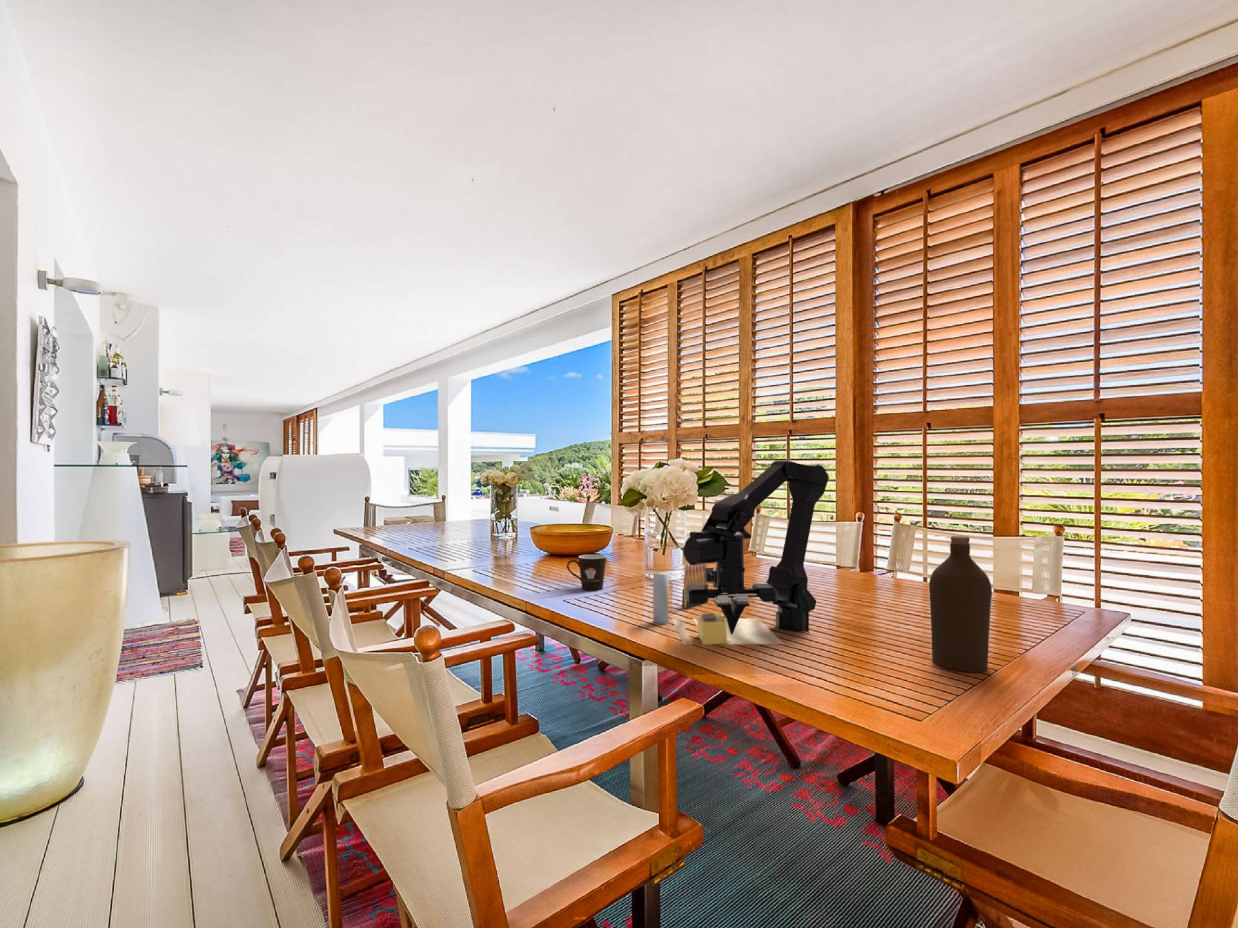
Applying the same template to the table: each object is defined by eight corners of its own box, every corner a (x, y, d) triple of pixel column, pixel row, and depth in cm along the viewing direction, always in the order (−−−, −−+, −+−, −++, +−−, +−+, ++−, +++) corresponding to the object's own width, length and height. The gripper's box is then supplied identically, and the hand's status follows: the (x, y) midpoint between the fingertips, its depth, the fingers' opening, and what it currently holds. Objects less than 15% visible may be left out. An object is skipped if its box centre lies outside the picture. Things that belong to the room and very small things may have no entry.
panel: (757, 624, 143) (757, 618, 143) (783, 650, 123) (783, 643, 123) (671, 624, 142) (671, 618, 142) (683, 651, 122) (683, 644, 122)
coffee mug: (611, 587, 184) (611, 556, 184) (595, 593, 177) (596, 559, 177) (581, 583, 190) (581, 552, 190) (565, 588, 183) (565, 556, 183)
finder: (721, 634, 129) (719, 611, 129) (727, 643, 123) (725, 618, 123) (698, 636, 129) (697, 612, 129) (703, 644, 123) (702, 620, 123)
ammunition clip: (687, 609, 158) (688, 564, 158) (681, 608, 159) (682, 563, 159) (708, 602, 166) (708, 559, 166) (702, 601, 167) (703, 558, 167)
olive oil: (946, 673, 110) (947, 540, 110) (918, 655, 121) (919, 533, 121) (1004, 674, 110) (1004, 540, 110) (970, 655, 121) (971, 533, 120)
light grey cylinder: (667, 626, 141) (668, 572, 141) (669, 630, 138) (670, 575, 137) (652, 626, 141) (652, 572, 141) (653, 630, 137) (653, 575, 137)
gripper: (762, 554, 134) (763, 622, 134) (681, 555, 133) (682, 624, 133) (777, 562, 123) (778, 636, 123) (688, 564, 122) (690, 639, 122)
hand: (731, 633), depth 126 cm, fingers closed
